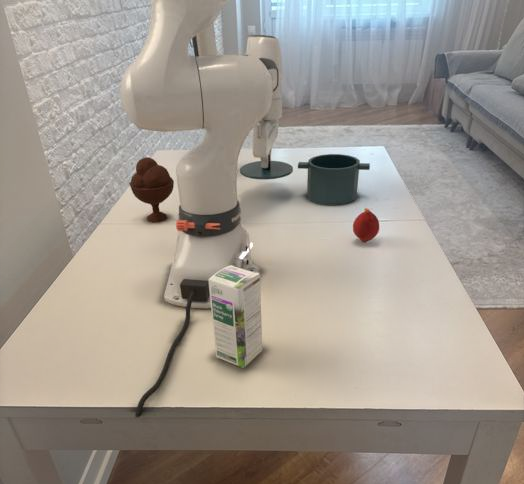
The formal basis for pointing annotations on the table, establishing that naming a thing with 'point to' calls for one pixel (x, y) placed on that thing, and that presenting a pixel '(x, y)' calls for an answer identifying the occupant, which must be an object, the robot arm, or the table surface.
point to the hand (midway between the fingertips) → (266, 165)
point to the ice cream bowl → (152, 186)
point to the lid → (266, 170)
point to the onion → (366, 226)
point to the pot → (333, 178)
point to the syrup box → (236, 314)
